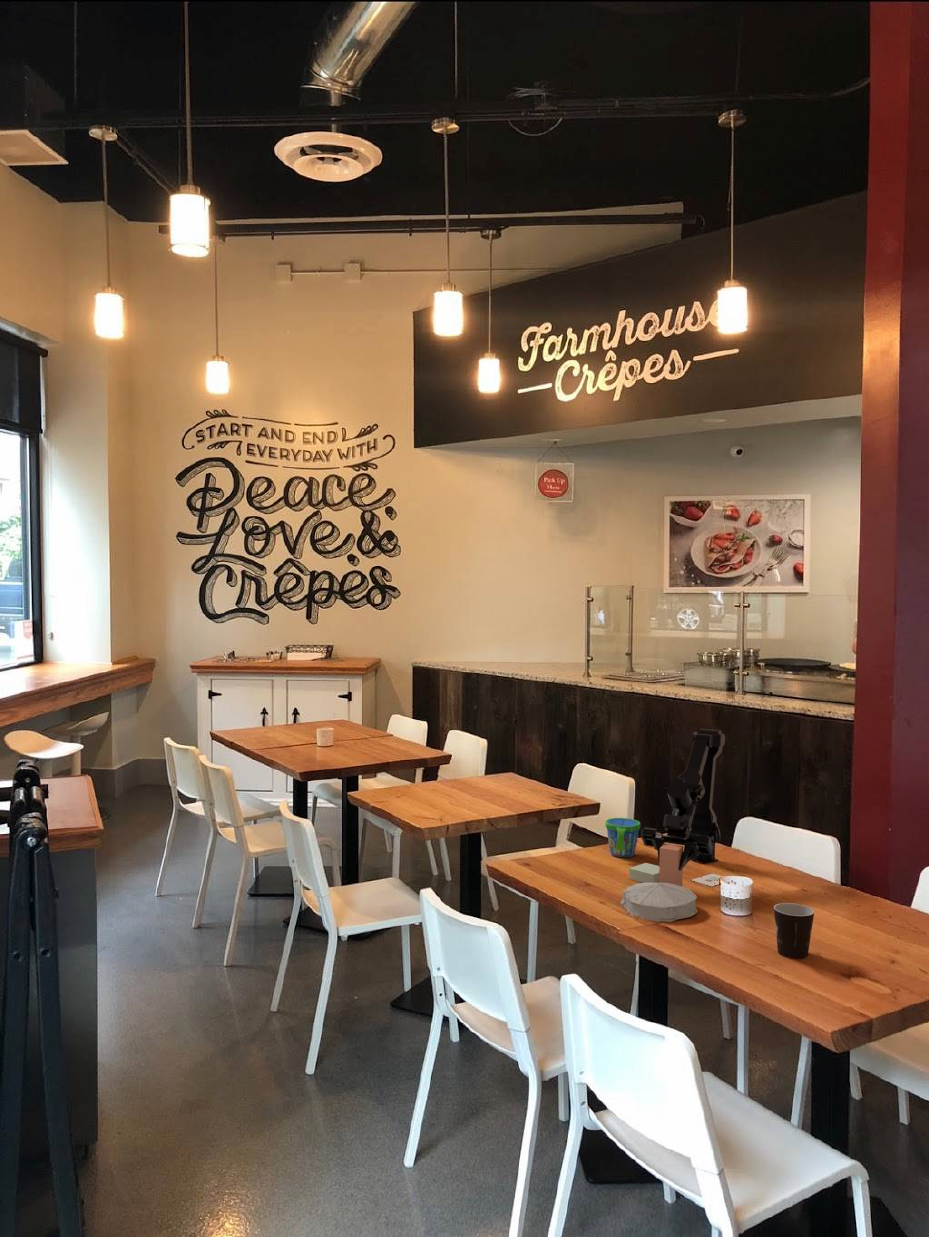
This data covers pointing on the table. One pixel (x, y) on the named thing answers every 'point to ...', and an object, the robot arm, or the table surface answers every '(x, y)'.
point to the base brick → (644, 873)
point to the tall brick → (670, 864)
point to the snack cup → (622, 836)
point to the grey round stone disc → (659, 901)
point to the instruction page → (708, 880)
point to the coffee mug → (793, 929)
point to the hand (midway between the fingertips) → (669, 868)
